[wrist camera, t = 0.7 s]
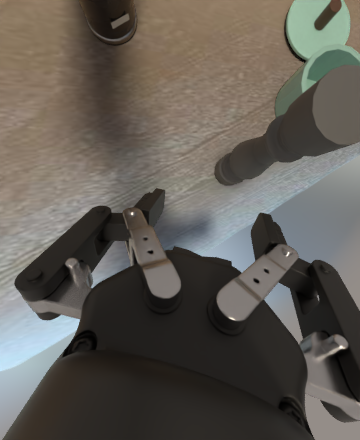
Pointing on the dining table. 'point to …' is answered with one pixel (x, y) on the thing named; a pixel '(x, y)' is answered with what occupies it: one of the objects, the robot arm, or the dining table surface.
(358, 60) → the pot
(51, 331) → the dining table surface
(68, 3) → the dining table surface
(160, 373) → the robot arm
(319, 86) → the candle holder
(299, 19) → the pot lid
